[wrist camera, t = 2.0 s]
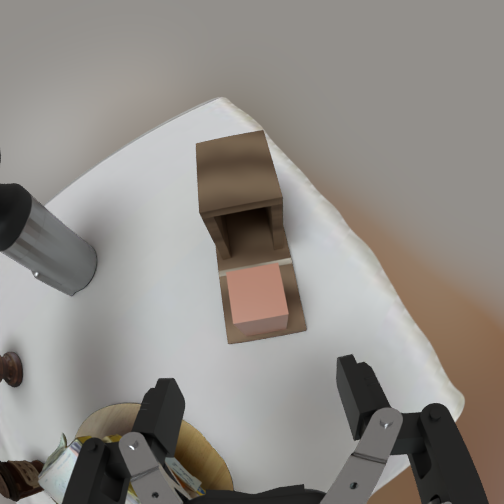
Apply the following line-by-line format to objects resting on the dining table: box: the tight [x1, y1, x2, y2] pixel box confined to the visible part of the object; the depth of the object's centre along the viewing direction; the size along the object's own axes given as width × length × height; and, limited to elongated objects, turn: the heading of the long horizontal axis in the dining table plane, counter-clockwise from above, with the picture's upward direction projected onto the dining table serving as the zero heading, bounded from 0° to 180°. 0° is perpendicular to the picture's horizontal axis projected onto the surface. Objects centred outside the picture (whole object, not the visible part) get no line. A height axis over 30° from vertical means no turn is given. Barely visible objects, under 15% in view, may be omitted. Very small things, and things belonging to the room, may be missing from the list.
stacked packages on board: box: [38, 403, 233, 504], centre depth 19 cm, size 25×25×17 cm
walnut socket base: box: [196, 130, 307, 344], centre depth 33 cm, size 22×10×13 cm, turn 9°
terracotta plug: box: [226, 263, 289, 336], centre depth 29 cm, size 5×5×10 cm
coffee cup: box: [0, 460, 44, 502], centre depth 19 cm, size 9×8×13 cm
